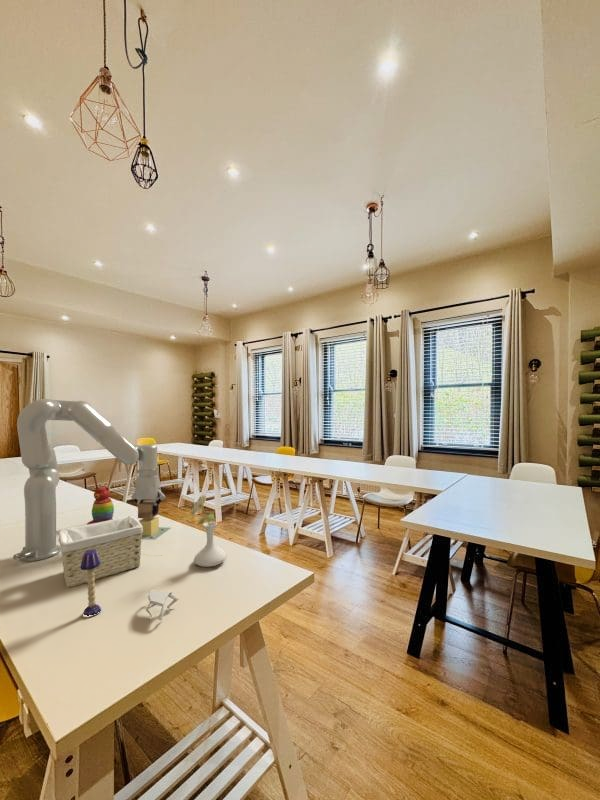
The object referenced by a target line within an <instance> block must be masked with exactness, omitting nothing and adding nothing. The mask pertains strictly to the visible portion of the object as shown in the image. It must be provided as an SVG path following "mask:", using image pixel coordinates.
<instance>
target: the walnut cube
mask: <svg viewBox="0 0 600 800" xmlns="http://www.w3.org/2000/svg"><path fill="white" fill-rule="evenodd" d="M153 506H154V504H153V501H152V500H144V501H143V502H142V503H140V504H138V505H137V519H143V518H146V519H151V518H153V517H157V516H158V515H159V512H158V513H157V514H155V515H153Z"/></svg>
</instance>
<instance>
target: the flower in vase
mask: <svg viewBox="0 0 600 800" xmlns="http://www.w3.org/2000/svg"><path fill="white" fill-rule="evenodd" d="M206 500H207V495H205V494H203V495H200V496H199V497H198V498H197V500H196V501H195V502H194V503H193V505H194V506H193V507H192V508H191V509H190V514H191V515H195V514H197V513H198V512H200V510H201V509H202V510H203V514H204V517H202V518H200V520H199V521H198V523H197V526H198V525H202V526H203V527H204V529H205V533H206V544H205V546H204V547H203V548H201V550H199V551H198V552H197V553H196V554H195V556H194V558H193V562H194V564H195V565H197V566H199V567H203V568H204V567H206V568H207V567H208V568H209V567H214V566H217V565H220V564H222V563H224V562H225V560H226V559H227V554H226V551H224V550H223V549H222V548H221V547H218V546H217V545H216V544H215V542H214V535H215V534H214V533H215V528H216V526H217V525H218V522H217V521H213V520H214V518H215V514H214V513H215V512H214V511H211V512H210V513H209V514H208V515H207V514H206V511H205V509H204V507H203V506H204V504H205V503H206ZM205 521H207V522H205Z"/></svg>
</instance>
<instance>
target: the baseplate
mask: <svg viewBox="0 0 600 800" xmlns="http://www.w3.org/2000/svg"><path fill="white" fill-rule="evenodd" d="M171 529H172V527H164V526H163V527H159V531H157V532H156V533H154V534H153V535H152V536H144V535H142V538H141V540H149V541H152V540H157V539H158V538H160V537H161V536H162V535H164V534H165V533H167V532H168V531H169V530H171Z"/></svg>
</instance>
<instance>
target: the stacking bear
mask: <svg viewBox="0 0 600 800" xmlns="http://www.w3.org/2000/svg"><path fill="white" fill-rule="evenodd" d="M110 496H111V490H110V488H109V487H106V486H105V487H104V486H102V487H99V486H98V487H96V490H95V491H94V493H93V497H94V499H95V500H94V501H93V504H92V508H91V517H92V520H90V521H88V522H87V523H86V525H89V524H94V523H99V522H103V521H108V520H113V518H114V512H115V506H114V502H113V500H112V499H111V498H110Z"/></svg>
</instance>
